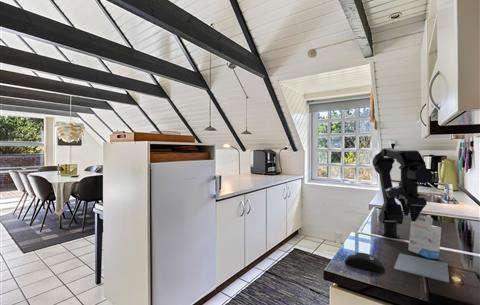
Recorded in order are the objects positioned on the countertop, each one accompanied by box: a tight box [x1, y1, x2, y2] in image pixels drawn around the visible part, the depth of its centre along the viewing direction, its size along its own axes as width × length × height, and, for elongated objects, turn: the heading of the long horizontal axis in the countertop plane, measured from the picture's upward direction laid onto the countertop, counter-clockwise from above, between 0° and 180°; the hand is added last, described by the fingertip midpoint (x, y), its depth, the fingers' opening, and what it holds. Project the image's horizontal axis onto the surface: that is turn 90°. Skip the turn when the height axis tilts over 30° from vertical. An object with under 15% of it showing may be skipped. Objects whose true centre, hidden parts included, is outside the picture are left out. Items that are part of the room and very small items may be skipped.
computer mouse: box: [344, 252, 386, 274], centre depth 81 cm, size 8×12×4 cm, turn 50°
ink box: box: [408, 214, 442, 260], centre depth 91 cm, size 8×5×15 cm, turn 13°
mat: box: [393, 253, 450, 283], centre depth 81 cm, size 16×14×1 cm
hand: (409, 218), depth 97 cm, fingers open, 9 cm apart
